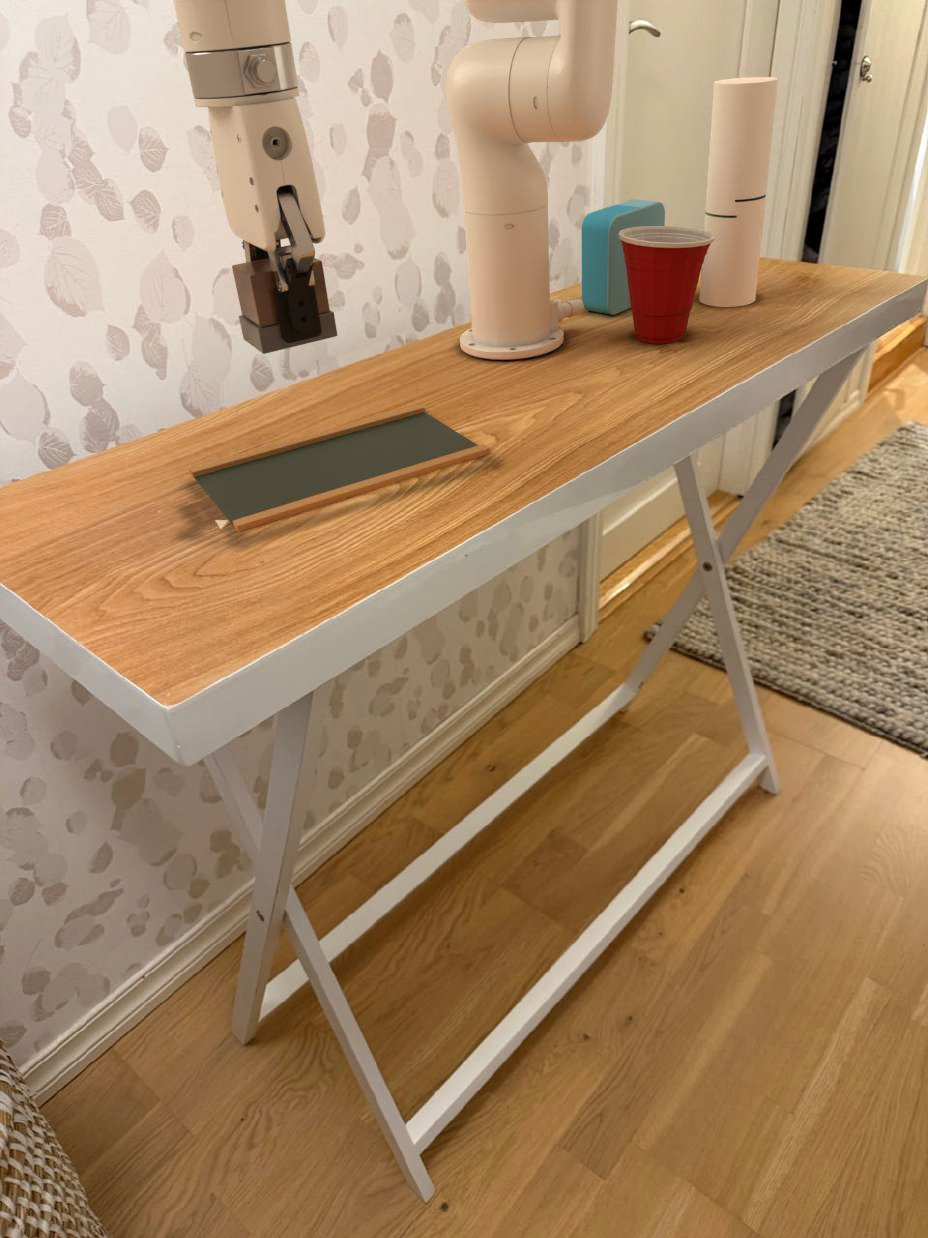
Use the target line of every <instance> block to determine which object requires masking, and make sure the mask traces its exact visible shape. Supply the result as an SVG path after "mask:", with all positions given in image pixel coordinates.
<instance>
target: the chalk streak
mask: <svg viewBox="0 0 928 1238" xmlns="http://www.w3.org/2000/svg"><path fill="white" fill-rule="evenodd" d="M214 521H215V524H217V526H218V528H219V529H220V530H223V528H225V527H227V526H228V525H230V524H231V522H230V521H229V520H228V519H214Z"/></svg>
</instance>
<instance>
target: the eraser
mask: <svg viewBox="0 0 928 1238" xmlns="http://www.w3.org/2000/svg"><path fill="white" fill-rule="evenodd" d="M291 257H292V256H291V255H287V256H282V257H281V261H282V264H283V268H284V269H285V264H286V260H287V259H289V258H291ZM231 269H232V273H233V278H234V283H235V289H236V292H237V298H238V302H239V307H240V311H241V314H240V315H239V316H238V319H239V324H240V330H241V333H242V338H243V340H244V341H245V342H246V343H248V344H249V345H251V346H252V347H253V348H255V349H256V350H257V351H258V352H260V353H261V354H263V355H266V354H270V353H274V352H278V351H282V350H286V349H290V348H294V347H298V346H303V345H308V344H310V343H314V342H319V341H323V340H327V339H332V338H335V337H338V330H337V323H336V317H335V312H334V311H333V310H331V309H330V304H329V297H328V292H327V283H326V278H325V273H324V265H323V260H320V259H318V258H317V257H314V260H313V267H312V271H313V275H314V279H315V286H314V287H315V293H316V299H317V305H318V311H319V317H320V323H321V329H322V333H321V335H320V336H318V337H314V338H310V339H305V340H301V341H297V342H293V343H287V342H285V341H284V340H283V338H282V333H281V328H280V323H279V318H278V312H277V307H276V302H275V296H274V292H275V291H279V290H278V288H277V284H276V281H275V277H274V273H273V270H272V266H271V262H270V258H266V259H261V260H256V261H251V262H246V261H245V262H242V263H237V264H233V265H231Z"/></svg>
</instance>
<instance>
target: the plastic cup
mask: <svg viewBox="0 0 928 1238" xmlns="http://www.w3.org/2000/svg"><path fill="white" fill-rule="evenodd" d="M619 239H621V242H622V246H623V253H624V259H625V263H626V270H627V279H628V287H629V296H630V304H631V308H630V311H631V312H632V320H633V321H632V322H633V329H634V333H635V338H636V339H637V340H638V341H640V342H643V343H645V344H646V343H647V344H654V345H655V344H656V345H657V344H661V345H662V344H664V345H665V344H672V343H676V342H679V341H681V340H683V339H684V338H685V334H686V333H687V328H688V323H689V318H690V316H691V315H690V314H691V310H692V309H693V304H694V301H695V297H696V293H697V292H696V291H697V287H698V284H699V280H700V277H701V267H702V264H703V262H704V258H705V255H706V254H707V250H708V248H709V246H710V245H711V243H712V242H713V241H714V239H715V235H714V234H712V233H710V232H708V231H704V229H698V228H694V227H685V226H675V225H674V226H673V225H671V226H670V225H664V226H641V227H633V228H627V229H624V230H621V231H620V232H619Z"/></svg>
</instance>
